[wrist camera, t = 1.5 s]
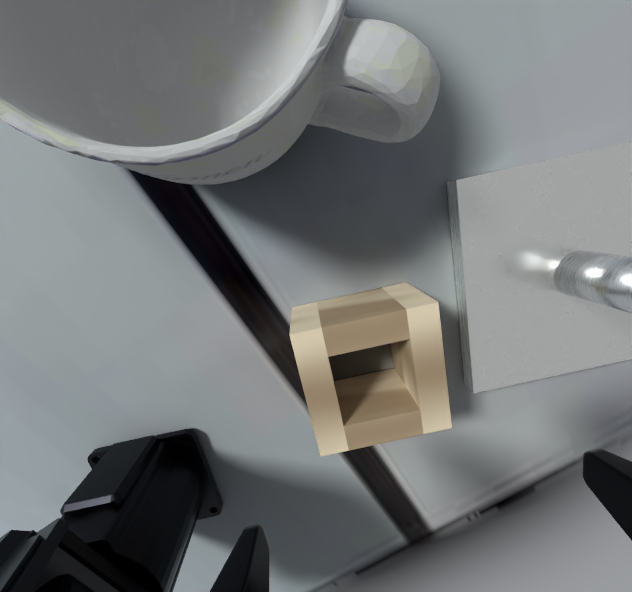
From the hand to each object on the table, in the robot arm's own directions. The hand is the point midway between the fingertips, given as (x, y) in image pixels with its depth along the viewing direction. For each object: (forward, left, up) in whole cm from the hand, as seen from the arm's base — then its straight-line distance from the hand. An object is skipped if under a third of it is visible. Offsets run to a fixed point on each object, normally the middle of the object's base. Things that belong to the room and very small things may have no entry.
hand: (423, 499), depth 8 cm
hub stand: (+2, -12, -10) cm, 16 cm away
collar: (0, 0, -10) cm, 10 cm away
